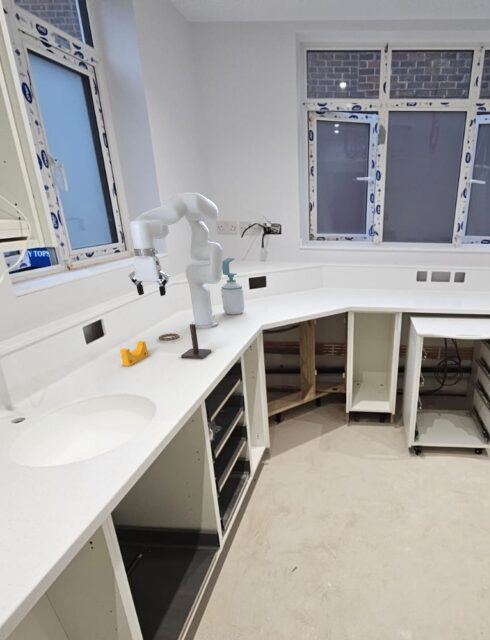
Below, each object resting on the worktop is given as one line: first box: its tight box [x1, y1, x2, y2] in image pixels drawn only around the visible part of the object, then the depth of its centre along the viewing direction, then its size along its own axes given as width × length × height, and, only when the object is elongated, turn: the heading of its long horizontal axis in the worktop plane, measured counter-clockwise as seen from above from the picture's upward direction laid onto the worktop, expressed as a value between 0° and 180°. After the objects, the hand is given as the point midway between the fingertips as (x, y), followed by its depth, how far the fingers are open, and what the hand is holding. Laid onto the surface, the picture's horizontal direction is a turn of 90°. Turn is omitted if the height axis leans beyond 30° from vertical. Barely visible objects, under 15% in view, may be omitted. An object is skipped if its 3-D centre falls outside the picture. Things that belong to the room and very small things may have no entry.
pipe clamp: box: [119, 340, 149, 367], centre depth 162 cm, size 12×4×6 cm, turn 168°
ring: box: [158, 332, 180, 342], centre depth 189 cm, size 9×9×2 cm
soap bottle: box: [220, 257, 245, 316], centre depth 232 cm, size 12×12×31 cm
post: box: [180, 323, 212, 360], centre depth 167 cm, size 9×9×13 cm
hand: (152, 295), depth 171 cm, fingers open, 9 cm apart
